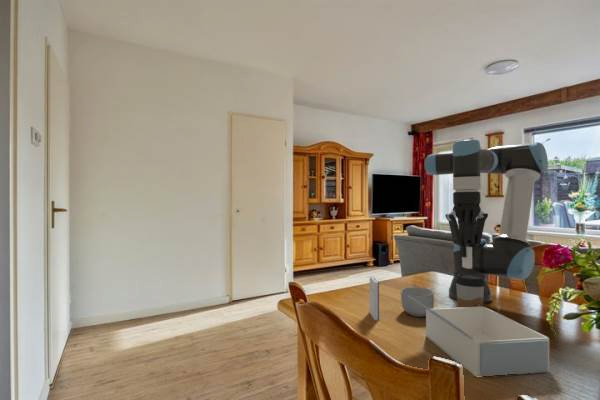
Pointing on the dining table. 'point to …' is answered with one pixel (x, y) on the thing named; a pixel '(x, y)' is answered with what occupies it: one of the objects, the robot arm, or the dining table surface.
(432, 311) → the flap
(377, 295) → the hard drive
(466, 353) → the carton
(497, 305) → the dining table surface
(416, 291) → the teacup
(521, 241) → the robot arm
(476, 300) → the coffee cup
